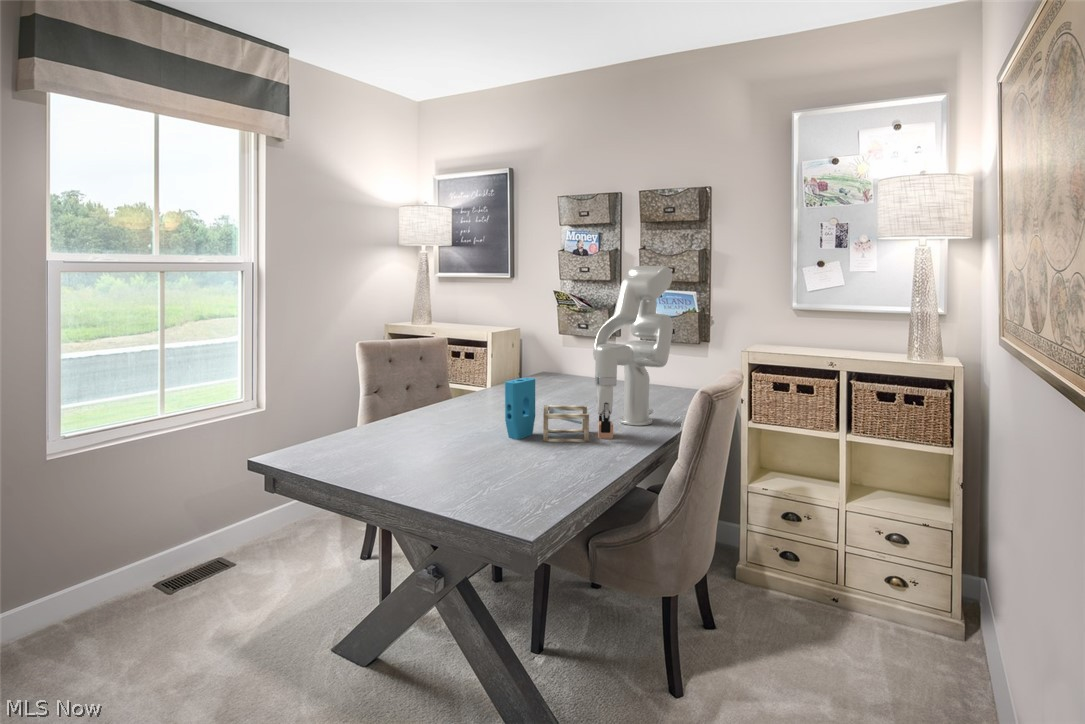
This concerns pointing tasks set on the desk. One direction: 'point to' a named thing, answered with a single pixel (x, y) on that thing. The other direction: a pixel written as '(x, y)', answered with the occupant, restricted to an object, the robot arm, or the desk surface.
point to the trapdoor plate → (555, 411)
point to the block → (520, 407)
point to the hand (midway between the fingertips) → (604, 429)
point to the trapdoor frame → (566, 416)
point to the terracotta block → (605, 435)
